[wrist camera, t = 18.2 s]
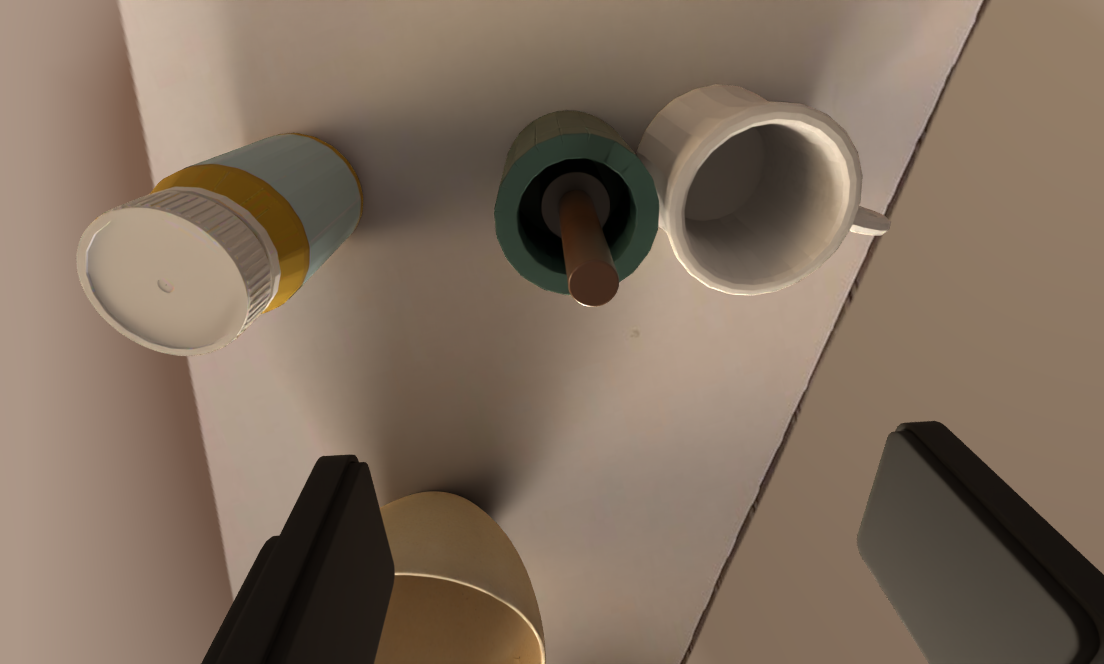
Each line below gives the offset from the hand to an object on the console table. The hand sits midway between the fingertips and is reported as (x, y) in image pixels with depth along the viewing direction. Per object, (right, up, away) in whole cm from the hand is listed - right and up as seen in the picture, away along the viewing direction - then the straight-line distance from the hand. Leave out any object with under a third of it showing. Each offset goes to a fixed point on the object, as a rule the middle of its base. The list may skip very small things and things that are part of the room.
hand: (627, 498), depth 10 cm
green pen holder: (0, +13, +24) cm, 27 cm away
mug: (+10, +13, +24) cm, 29 cm away
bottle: (-16, +12, +24) cm, 32 cm away
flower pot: (-11, -14, +38) cm, 42 cm away
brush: (0, +12, +23) cm, 26 cm away
